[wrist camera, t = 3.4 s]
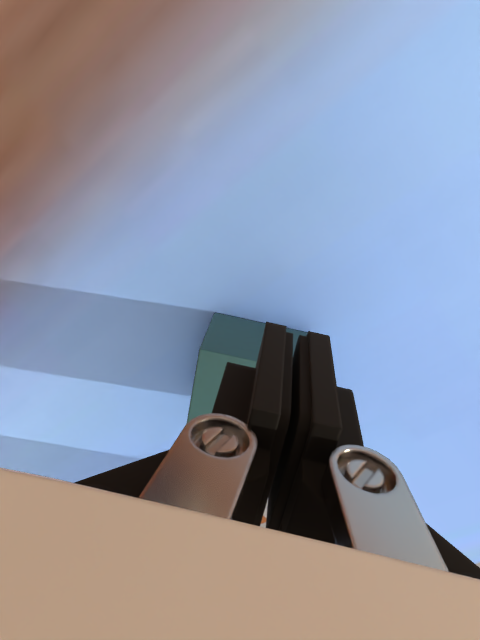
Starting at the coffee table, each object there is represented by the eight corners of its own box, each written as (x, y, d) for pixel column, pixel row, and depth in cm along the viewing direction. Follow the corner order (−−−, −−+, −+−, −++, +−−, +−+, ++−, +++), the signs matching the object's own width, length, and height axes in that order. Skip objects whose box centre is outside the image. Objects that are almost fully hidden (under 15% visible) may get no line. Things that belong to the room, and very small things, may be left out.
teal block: (200, 393, 30) (183, 441, 25) (214, 311, 28) (199, 349, 23) (288, 412, 30) (287, 464, 25) (310, 332, 27) (314, 374, 23)
